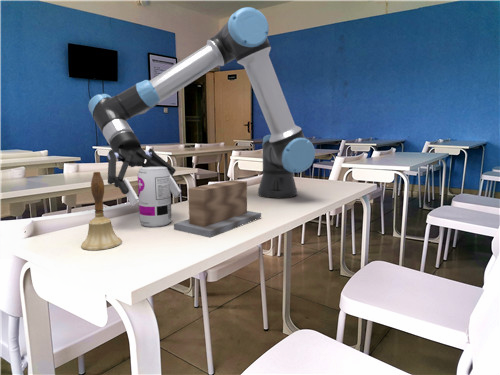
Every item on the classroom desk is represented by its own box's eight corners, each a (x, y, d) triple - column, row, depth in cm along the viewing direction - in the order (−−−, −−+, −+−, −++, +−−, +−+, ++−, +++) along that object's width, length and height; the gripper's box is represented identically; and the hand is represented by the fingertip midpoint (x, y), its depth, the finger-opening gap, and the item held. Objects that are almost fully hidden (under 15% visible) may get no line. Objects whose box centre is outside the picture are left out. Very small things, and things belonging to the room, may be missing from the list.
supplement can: (140, 228, 88) (136, 170, 86) (140, 220, 96) (137, 166, 94) (172, 226, 91) (170, 169, 88) (170, 218, 99) (168, 166, 96)
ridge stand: (227, 212, 106) (227, 178, 104) (261, 218, 99) (261, 181, 97) (173, 229, 88) (172, 188, 86) (209, 237, 81) (209, 192, 80)
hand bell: (75, 244, 76) (69, 172, 74) (112, 236, 82) (108, 169, 80) (89, 253, 71) (83, 175, 68) (128, 244, 76) (124, 172, 74)
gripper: (153, 147, 110) (187, 199, 103) (73, 150, 90) (109, 215, 84) (163, 130, 106) (199, 183, 99) (82, 129, 86) (120, 196, 80)
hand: (158, 198), depth 91 cm, fingers open, 13 cm apart
